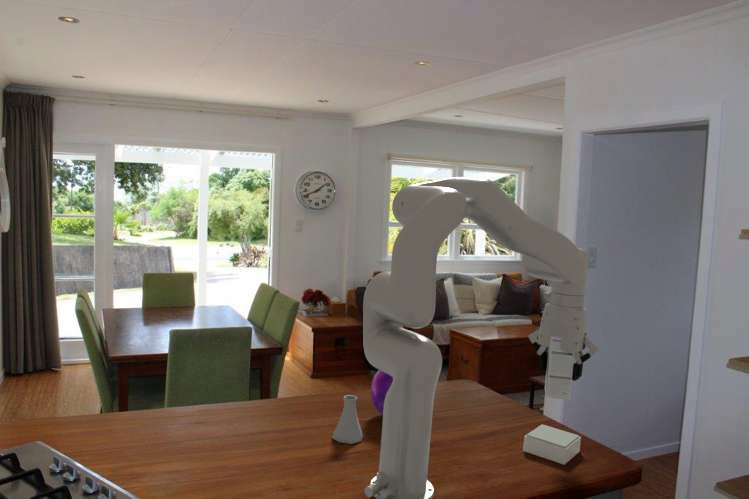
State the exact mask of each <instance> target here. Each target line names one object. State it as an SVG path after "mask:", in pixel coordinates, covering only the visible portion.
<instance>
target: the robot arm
mask: <svg viewBox="0 0 749 499" xmlns="http://www.w3.org/2000/svg"><path fill="white" fill-rule="evenodd" d="M391 207H392V208H391V209H392V210H391V211H392V214H393V217H394V218H395V220H396V222H397V223H399V224H400V225H402V226H403V227H402V228H401V229H400V231H399V233H398V234H397V236H396V238H395V240H394V243H393V246H392V249H391V250H392V252H391V265H390V271H382V272H380V273H379V272H378V274H376V275H374V276H373V277H372V278H371V279H370V281H369V282H368V284H367V286H366V288H365V290H364V295H363V304H362V315H363V316H362V320H363V321H362V325H363V326H362V328H363V329H362V335H363V336H362V338H363V339H362V342H363V344H362V345H363V350H364V351H363V352H364V356H365V358H366V360H367V362H368V363H369V364H370V365H371V366H372V367H373V368H375V369H376V370H378V371H379V370H381V371H383V372H385V373H387V374H388V375H390V376H392V377H393V382H392V384H391V386H390V388H389V390H388V392H387V394H386V397H385V400H384V408H383V415H382V425H381V426H382V427H381V439H380V450H379V452H380V453H379V462H378V464H379V465H378V472H377V473H376V476H373V478H372V479H371V480H370V482H369V485H368V486H366V487H365V488H364V493H365V496H366V497H367V498H372V497H373V498H374V499H434V495H435V488H434V486H433V484H432V483H431V482H430V481H429V480H428V471H429V459H430V448H431V447H430V446H431V436H432V426H433V425H432V424H433V413H434V412H433V411H434V402H435V394H436V388H437V385H438V381H439V378H440V374H441V372H442V366H443V355H442V353H441V349H440V347H439V346H438V345H437V344H436V343H435V342H434V341H433V340H432V339H430V338H428V337H427V336H425V335H423V334H420V333H417V332H415V331H412V330H410V329H422V328H424V327H425V328H426V327H427V326H428V325H429V324H430V323H431V322H432V321H433V319H434V317H435V313H436V298H437V297H436V296H437V293H436V292H437V290H436V289H437V262H438V255H439V251H440V249H441V247H442V246H443V245H442V244H443V243H444V242H445V241H446V239H447V238H448V237H449V236H450V234H452V233H453V231H455V230H456V229H457V228H458V227H459V226H460V225H461V224H462V222H463V220H464V219H468V220H470V221H472V222H473V223H474V224H476V226H478V227H479V228H480V229H481V230H482V231H483V232H485V233H486V234H487V235H488V236H489V237H490V238H491V239H493V240H494V241H495V243H496V244H498V245H500V246H501V247H503V248H505V249H506V250H508V251H509V250H510V251H512V252H514V253H517V254H520V255H522V256H521V267H522V269H523V270H524V272H525V273H526V274H527V275H528V276H531V277H532V278H536V279H540V280H545V281H549V282H550V281H551V283H550V284H551V286H550V290H549V291H547V292H544V296H543V297H544V298H545V299H547V300H548V303H545V305H544V309H543V312H542V314H541V315H542V316H541V321H540V325H539V329H536V330H535V331H533V332H531V333H530V334H528V336H527V337H528V339H529V341H530V342H531V344H532V347H533V348H534V350H536V354H537V355H538V359H537V360H538V362H537V367H538V368H539V369H538V372H539V373H544V372H546V367H547V356H548V348H550V338H551V336H560V337H561V339H562V340H561V346H560V349H561V350H563V351H565V352H570V353H575V355H574V358H575V359H574V361H575V362H574V365H573V374H572V380H573V381H574V382H575V381H577V380H579V379H580V378H581V377H582V376H583V370H584V368H583V367H584V363H585V362H586V361H588V360H590V358H591V359H592V357H593V356H594V355H596V354H597V352H599V348H598V346H597V345H596V344H595V342H593V341H592V340H591V339H590V338H589V337H588V319H587V317H588V316H587V309H586V308H584V305H585V304H584V303H585V294H586V286H587V276H588V267H589V257H590V256H589V252H588V251H587V249H584V248H579V247H577V245H575V244H574V243H573V241H572V240H571V239H569V238H568V237H567V236H565V235H564V234H563V233H561V232H560V231H558V230H556V229H554V228H552V227H551V226H549V225H547V224H545V223H544V222H542V221H540V220H538V219H536V218H534V217H532V216H531V215H529V214H527V213H526V212H525V211H524V210H523V209H522V208H521V207H520V205H518V204H517V203H516V202H515V201H514V200H513V199H512V198H510V196H509V195H508V194H507V193H506V192H505V190H503V189H502V188H501V187H499V186H498V185H497V184H496V182H494V181H492V180H491V179H490V178H489V179H488V178H485V177H479V176H478V177H475V176H474V177H472V176H471V177H469V176H468V177H467V176H464V177H463V176H454V177H447V178H442V179H437V180H432V181H426V182H419V183H415V184H408V185H406V186H404V187H402V188H401V189H399V190H398V191H397V193H396V194H395V195H394V198H393V199H392V204H391ZM404 327H406V328H410V329H409V330H408V329H406V328H404ZM586 347H587V349H588V351H587V352H586V353H585V354H584V352H583V350H585V349H586Z"/></svg>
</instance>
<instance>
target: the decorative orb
mask: <svg viewBox="0 0 749 499" xmlns="http://www.w3.org/2000/svg"><path fill="white" fill-rule="evenodd" d="M392 382H393V377H392V376H390V375H388V374H387V373H385V372H383V371H381V370H379V369H378V370H377V372H376V374H375V375H374V376H373V378H372V380H371V385H370V397H371V400H372V404H373V405H374V407H375V409H376V410H377V411H378V413H380V414H381V415H382V416H383V408H384V400H385V397H386V394H387V392H388V390H389V388H390V386H391V384H392Z"/></svg>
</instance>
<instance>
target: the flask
mask: <svg viewBox="0 0 749 499" xmlns="http://www.w3.org/2000/svg"><path fill="white" fill-rule="evenodd" d="M357 400H358V396H356V395H354V394H353V395H352V394H347V395H344V396H343V401H344V404H343V409H342V413H341V416H340V418H339V420H338V423H337V425H336V427H335V429H334V432H333V433H332V436H331V439H332V440H335V441H336V442H338V443H342V444H349V445H353V444H356V443H360V442H361V441H362V440H363V438H364V434H363V431H362V427H361V424H360V422H359V418H358V413H357Z"/></svg>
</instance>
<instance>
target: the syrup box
mask: <svg viewBox="0 0 749 499" xmlns="http://www.w3.org/2000/svg"><path fill="white" fill-rule="evenodd" d="M561 340H562V339H561V337H560V336H551V338H550V348H548V350H547V354H548V356H547V367H546V371H545V380H544V392H545V397H547V398H551V399H556V400H557V399H559V400H567V401H571V399H572V390H573V381H574V380H572V374H573V365H574V363H575V358H574V355H575V353H570V352H565V351H563V350H561V349H560V346H561Z"/></svg>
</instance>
